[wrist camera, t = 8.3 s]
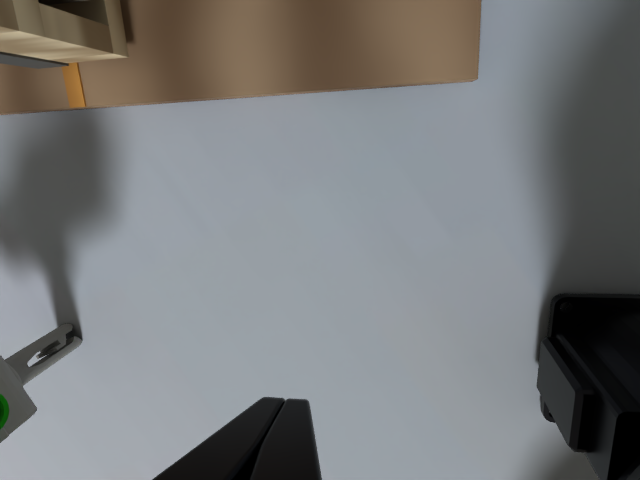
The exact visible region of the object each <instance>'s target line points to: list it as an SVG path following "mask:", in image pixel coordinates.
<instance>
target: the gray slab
mask: <svg viewBox="0 0 640 480" xmlns="http://www.w3.org/2000/svg"><path fill="white" fill-rule="evenodd" d="M0 63H1V64H8V65H15V66H21V67H28V68H35V69H42V68H52V67H63V66H69V63H63V62H57V61H52V60H46V59H40V58H35V57H29V56H23V55H18V54H12V53H6V52H1V51H0Z"/></svg>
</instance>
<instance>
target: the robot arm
mask: <svg viewBox="0 0 640 480" xmlns="http://www.w3.org/2000/svg"><path fill="white" fill-rule="evenodd" d="M565 302H569V306H568V307H567V308H565V309H560V306H561V304H563V303H565ZM537 388H538V390H539V392H540V394H541V396H542V398H541V412H542V414H543V416H544V417H545V419H546V420H548V421H549V422H554V423H556V424H557V426H558V428H559V430H560V432H561V433H562V435H563V437H564V439H565V441H566V443H567V445H568V446H569V447H570V448H571V449H572V450H573V451H574V452H581V453H585V455H586V457H587V459H588V460H589V462H590V464H591V466H592V467H593V469H594V471H595V473H596V474H597V476H598V478H599V480H640V295H629V294H568V293H564V294H559V295H557V296H555V297H554V298H553V299H552V302H551V308H550V318H549V328H548V337H545V338H544V339H543V340H542V341H541V347H540V357H539V368H538V378H537ZM549 411H550V412H549ZM152 480H322V477H321V471H320V465H319V459H318V453H317V447H316V440H315V434H314V428H313V422H312V416H311V410H310V404H309V401H308V400H306V399H287V400H285V399H283V398H275V397H263V398H261V399H260V400H259V401H257V402H256V403H254V404H253V405H252V406H250V407H249V408H248V409H246V410H245V411H244V412H242V413H241V414H240V415H238V416H237V417H236V418H234V419H233V420H232V421H230V422H229V423H228V424H226V425H225V426H224V427H222V428H221V429H220V430H218V431H217V432H215V433H214V434H213V435H211V436H210V437H209V438H207V439H206V440H205V441H203V442H202V443H201V444H199V445H198V446H197V447H195V448H194V449H193V450H191V451H190V452H189V453H187V454H186V455H185V456H183V457H182V458H181V459H179V460H178V461H176V462H175V463H174V464H172V465H171V466H170V467H168V468H167V469H166V470H164V471H163V472H162V473H160V474H159V475H158V476H156V477H155V478H154V479H152Z"/></svg>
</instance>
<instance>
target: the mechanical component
mask: <svg viewBox="0 0 640 480" xmlns="http://www.w3.org/2000/svg"><path fill="white" fill-rule="evenodd" d="M71 330H72V324H63V325H61V326H59V327H58V328H56V329H55V330H53V331H51V332H50V333H48V334H46V335H45V336H43V337H41V338H40V339H38V340H36V341H35V342H33V343H32V344H30V345H28V346H27V347H25V348H23V349H22V350H20V351H18V352H17V353H15V354H14V355H12V356H10V357H9V358H7V359H5V360H4V359H3V358H2V356H0V443H1V442H2V441H3V440H4V439H6V438H7V437H8V436H9V434H10V433H12V432H13V431H14V430H15V429H17V428H18V427H19V426H20V425H21V424H23V423H24V422H25V421H26V420H28V419H29V418H30V417H31V416H32V415H33V414H34V413H35V412H36V411H37V407H36V406H35V405H34V403H33V402H32V400H31V399H30V397H29V396H28V394H27V393H26V391H25V390H24V388H23V385H25V384H26V383H27V382H29V381H30V380H32V379H33V378H34V377H36V376H37V375H39V374H40V373H42V372H43V371H44V370H46V369H47V368H49V367H50V366H51V365H53V364H54V363H56V362H57V361H58V360H60V359H61V358H63V357H64V356H66V355H67V354H68V353H70V352H71V351H73V350H74V349H75V348H77V347H78V346H79V345H81V343H82V340H81V339H80V338H78V337H75V336H74V337H72V338H69V339H67V340H66V334H67V333H68V332H70V331H71ZM39 351H40V352H41V353H40V354H38V355H37V356H36V357H37V359H39V358H41V357H43V356H45V355H47V356H45V357H44V358H42V359H41V360H39V361H38V362H36V363H35V364H33V365H32V366H30V367H28V365H27V362H28V361H29V360H30V359H31V358H32V357H33V356H34V355H35V354H36V353H37V352H39Z"/></svg>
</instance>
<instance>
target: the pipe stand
mask: <svg viewBox="0 0 640 480" xmlns="http://www.w3.org/2000/svg"><path fill="white" fill-rule="evenodd" d="M78 1H86V0H38V2H39V3H40V4H44V5H54V4H62V3H70V2H78ZM120 6H121V12H122V18H123V24H124V30H125V37H126V43H127V49H128V55H129V57H127V58H116V59H106V60H95V61H85V62H74V63H69V66H63V67H52V68H42V69H35V68H28V67H21V66H15V65H8V64H1V63H0V115H8V114H22V113H36V112H50V111H64V110H78V109H92V108H106V107H120V106H134V105H148V104H162V103H176V102H191V101H205V100H219V99H233V98H247V97H261V96H275V95H289V94H303V93H317V92H331V91H345V90H359V89H373V88H387V87H402V86H416V85H430V84H444V83H458V82H472V81H474V80H476V79H478V63H479V40H480V17H481V0H120Z"/></svg>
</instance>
